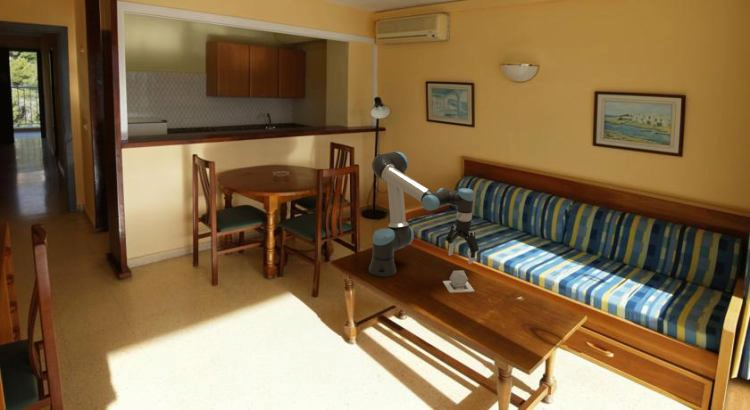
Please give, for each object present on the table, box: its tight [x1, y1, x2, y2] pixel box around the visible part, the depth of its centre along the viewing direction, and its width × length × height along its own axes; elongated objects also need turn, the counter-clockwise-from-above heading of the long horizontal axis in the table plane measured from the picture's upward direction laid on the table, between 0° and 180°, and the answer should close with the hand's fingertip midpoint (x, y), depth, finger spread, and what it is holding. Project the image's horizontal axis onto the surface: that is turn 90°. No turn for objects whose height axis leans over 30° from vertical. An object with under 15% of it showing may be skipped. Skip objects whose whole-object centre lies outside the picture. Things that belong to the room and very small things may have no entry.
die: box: [449, 270, 469, 287], centre depth 253 cm, size 8×9×10 cm
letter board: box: [442, 280, 476, 294], centre depth 254 cm, size 13×13×1 cm
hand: (460, 259), depth 250 cm, fingers open, 13 cm apart
